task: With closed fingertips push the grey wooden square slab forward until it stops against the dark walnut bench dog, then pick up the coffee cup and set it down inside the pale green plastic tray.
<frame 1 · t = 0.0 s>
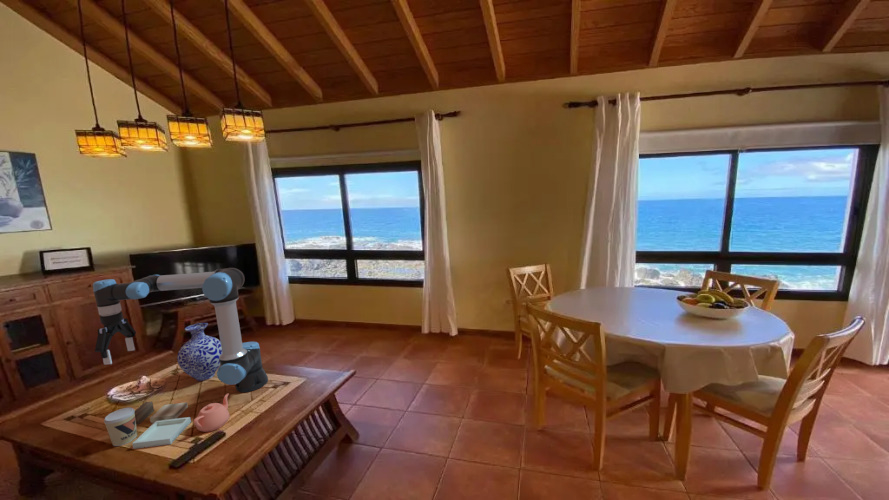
hand: (120, 357, 160), 28 cm above the table, fingers open, 13 cm apart
bench dog: (143, 417, 160), on the table
vase: (205, 376, 195), on the table
tray: (163, 434, 147), on the table
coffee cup: (125, 440, 145), on the table
grey wooden square slab: (170, 415, 161), on the table
teapot: (215, 423, 153), on the table
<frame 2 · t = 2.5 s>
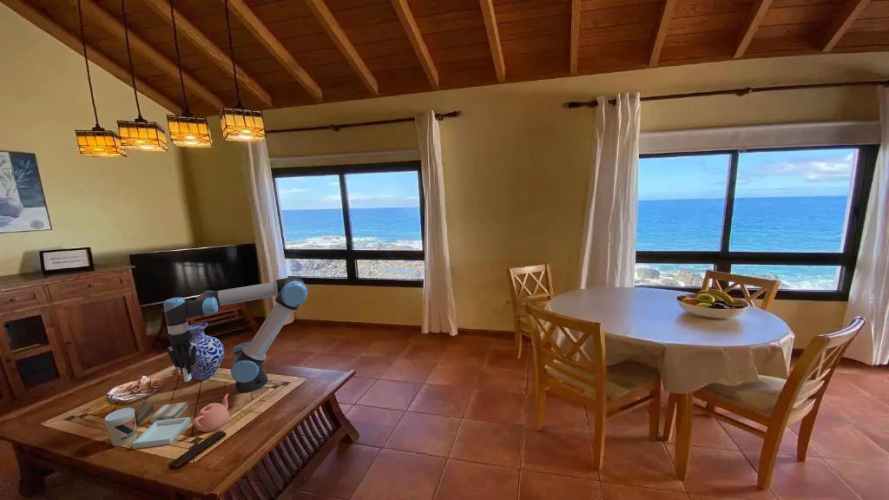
hand: (188, 380, 160), 16 cm above the table, fingers closed
nothing on the table moved.
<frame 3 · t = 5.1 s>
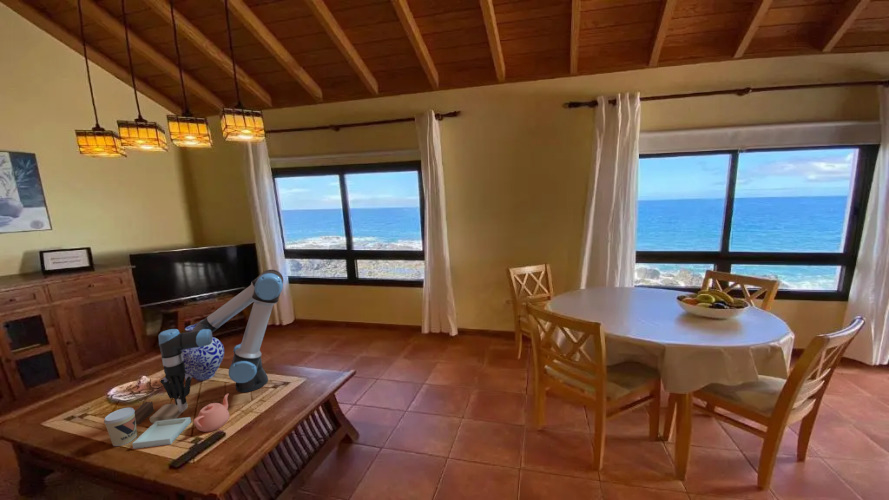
hand: (182, 410, 161), 2 cm above the table, fingers closed
grey wooden square slab: (170, 415, 161), on the table, touching gripper
everything else where it was.
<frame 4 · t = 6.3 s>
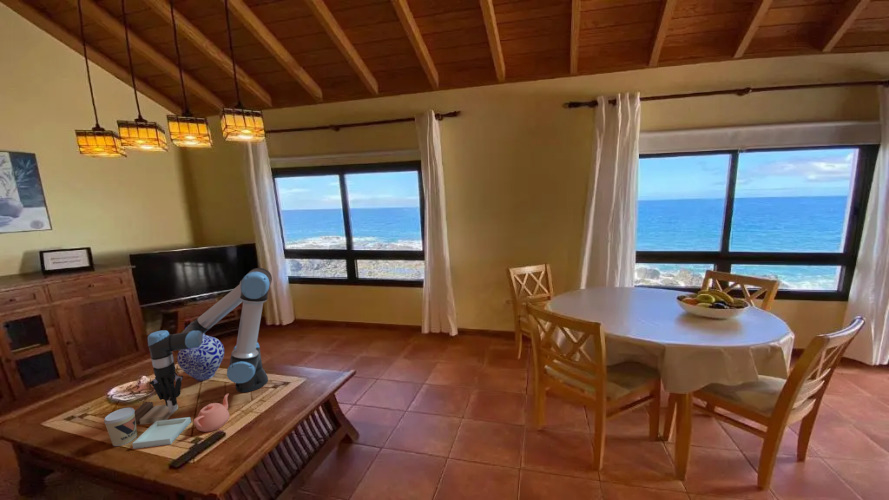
hand: (173, 411, 161), 1 cm above the table, fingers closed
grey wooden square slab: (160, 417, 160), on the table
everything else where it was.
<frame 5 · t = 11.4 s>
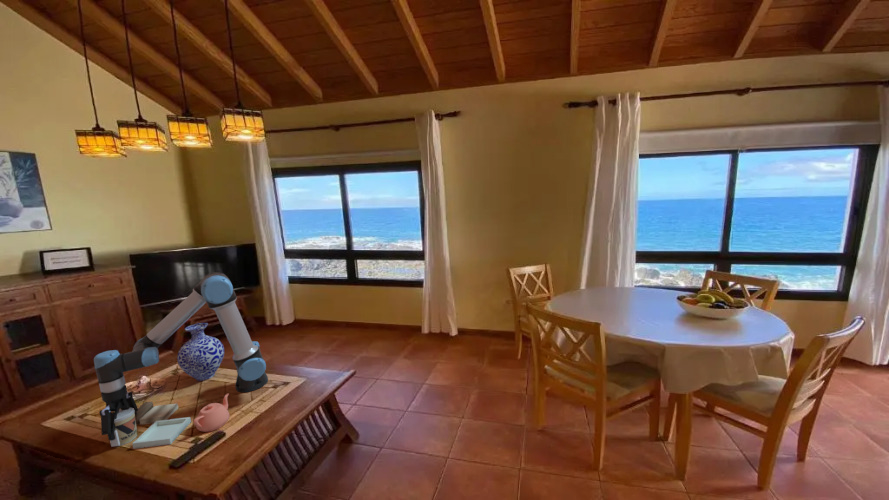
hand: (124, 437, 145), 1 cm above the table, fingers closed on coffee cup, 8 cm apart
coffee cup: (125, 440, 145), on the table, touching gripper
everything else where it was.
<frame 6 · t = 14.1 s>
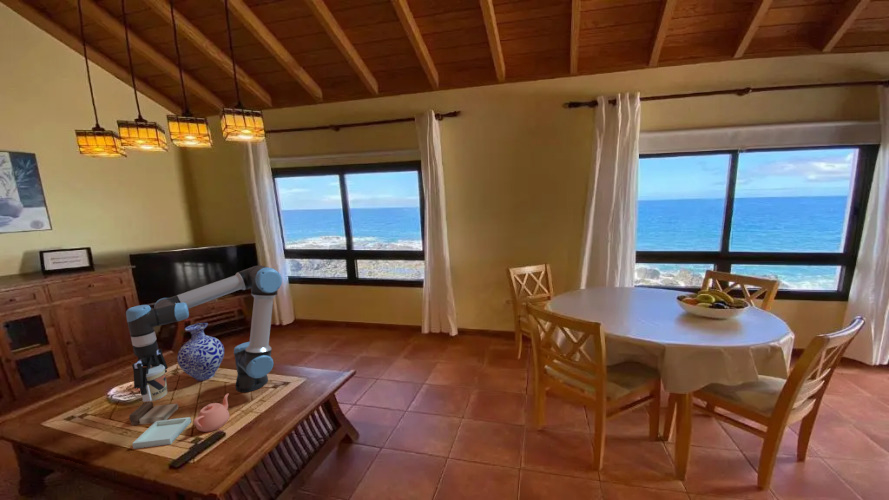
hand: (155, 394, 144), 19 cm above the table, fingers closed on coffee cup, 8 cm apart
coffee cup: (155, 396, 144), point 18 cm above the table, touching gripper
everything else where it was.
when the fingers open (4 cm above the table, at t = 17.3 s): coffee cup drops 2 cm, resting on tray.
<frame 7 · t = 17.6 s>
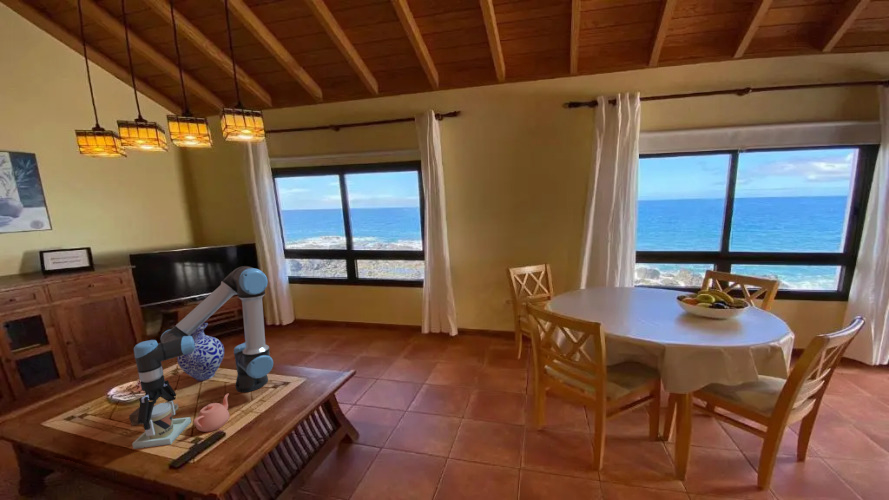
hand: (161, 424, 146), 5 cm above the table, fingers open, 12 cm apart
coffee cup: (162, 435, 146), point 1 cm above the table, touching tray
everything else where it was.
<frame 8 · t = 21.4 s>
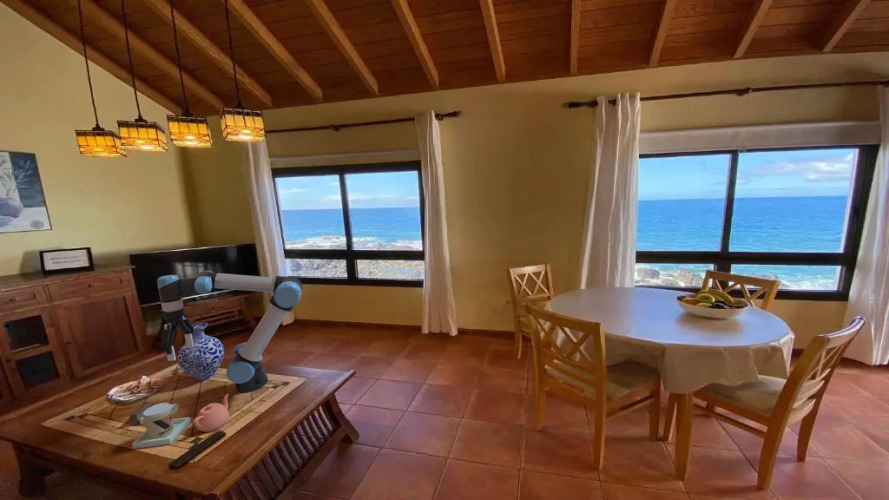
hand: (181, 353, 159), 29 cm above the table, fingers open, 13 cm apart
nothing on the table moved.
at the end: grey wooden square slab 1.0 cm from the target spot, on the table; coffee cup 1.0 cm off-centre on the tray, point 0.6 cm above the tray's base; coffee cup tilted 0° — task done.
